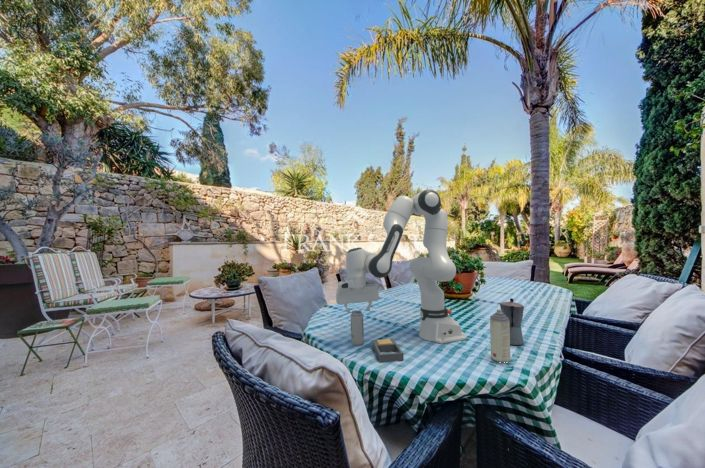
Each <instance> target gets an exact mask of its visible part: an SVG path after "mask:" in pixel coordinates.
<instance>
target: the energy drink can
mask: <svg viewBox="0 0 705 468" xmlns="http://www.w3.org/2000/svg"><path fill="white" fill-rule="evenodd" d="M349 317H350V342H351V344H352V346H356V347H359V346H362V345H363V343H364V342H365V334H364V333H365V332H364V328H365V327H364V314H363V311H362V310H352V311H351V314H350V316H349Z"/></svg>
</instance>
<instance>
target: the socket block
mask: <svg viewBox="0 0 705 468" xmlns="http://www.w3.org/2000/svg"><path fill="white" fill-rule="evenodd" d="M371 342H372V348H373V350H374V353H375V355H376V357H377V359H378V363H389V362H390V363H391V362H402V361H404V352H403V351H402V349H401V347H400V346H399V345H398V343H397V342H396V340H395V339H394V338H384V339H383V338H382V339H373V340H372V341H371ZM388 352H389V353H388ZM390 352H391V353H390Z"/></svg>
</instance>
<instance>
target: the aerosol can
mask: <svg viewBox="0 0 705 468" xmlns="http://www.w3.org/2000/svg"><path fill="white" fill-rule="evenodd" d="M489 325H490V326H489V329H490V358H491V360H492V361H493V360H494V361H493V362H495V361H496V362H495V363H497V362H501V363H500V364H502V363H504V362H505V363H506V362H510V363H511V344H510V324H509V318H508V317H506V315H505V314H504V313H503V312H502V310H501V308H497V309H496V311H495V312H494V313H493V314H492V315H490V318H489Z"/></svg>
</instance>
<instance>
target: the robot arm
mask: <svg viewBox="0 0 705 468" xmlns="http://www.w3.org/2000/svg"><path fill="white" fill-rule="evenodd" d="M442 207H443V205H442V200H441V197H440V195H439V193H438V192H437V191H436V190H434V189H425V190H423V191H421V192H418V193H416V194H415V195H414V196H412V197H410V196H407V195H399V196H398V197H396V199H395V200H394V201H393V202H392V204H391V206H390V207H389V209H388V210H387V212H386V214H385V216H384V219H383V223H382V225H383V228H384V230H385V232H386V237H385V240H384V242H383V245H381V249H380V251H379V252H378V253H375V252H374V253H373V252H371V251H368V250H365V249H363V248H362V247H353V248H351V249H349V250H347V252H346V256H345V266H346V267H345V268H346V272H347V273H346V278H345V279H343V280H341V281H338V282H337V289H336V293H335V294H336V295H335V302H336V304H337V305H343V306H344V308H345V309H346V314H350V313H351V308H349V307H347V306H348V304H349V305H350V304H356V303H357V304H358V303H366V302H368V305H367V306H366V307H365V308H366V309H365V310H366V312H370V311H371V307H372V305H373V302H379V299H380V295H379V282H377V281H375V280H372V281H367V280H366V279H367V277H366V275H367V274H370V275H372V276H373V277H375V278H379V279H383V278H385V277H387V276H389V275H390V273H391V272H392V267H393V259H394V256H395V254H396V252H397V249H398V247H399V245H400V242H401V241H402V236H403V233H404V230H405V228H406V227H407V225H408V223H409V221H410V218H411V216H415V217H420V216H423V219H424V221H425V222H424V223H425V224H424V228H423V229H424V230H423V231H424V232H423V239H422V244H423V246H424V248H425V249H426V250H427V251H428V256H419V257H418V256H417V257H415V258H412V260H411V261H410V264H409V271H410V273H411V275H413V277H414V279H415V280H416V282H417V285H418V287H419V288H418V289H419V292H420V293H419V294H420V311H419V313H420V314H419V315H420V327H419V332H418V337H419V338H420V339H422V340H423V341H424V340H425V341H429V342H433V343H434V342H435V343H437V344H442V345H443V344H447V343H452V342H457V341H464V340H467V339H468V338H467V335H466V333H465V332H463V331H462V328H461V325H460V323H459V322H458V321H456V320H455V319H454V318H452V316H450V315H452V314H453V311H452V309H449V308H446V307H445V292H444V290H443V289H442V288H441V287H440V286H439V284H438V282H441V283H442V282H450V281H453V279H454V278H455V277H456V275H457V267H456V264H455V263H454V262H453V261H452V260H451V258H450V255H449V252H448V249H447V248H448V247H447V241H448V239H447V238H448V228H449V227H448V225H449V223H448V222H449V219H448V213H447V211H446V210H445V209H443V208H442Z"/></svg>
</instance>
